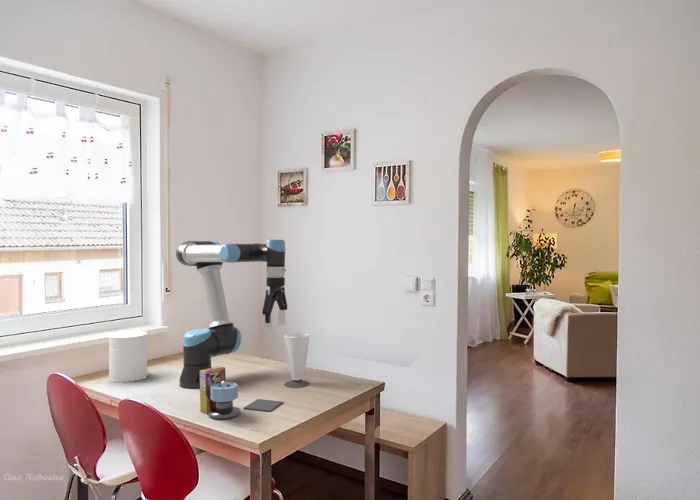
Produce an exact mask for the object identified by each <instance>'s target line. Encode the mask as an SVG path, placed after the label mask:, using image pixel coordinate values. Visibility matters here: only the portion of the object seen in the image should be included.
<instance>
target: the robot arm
mask: <svg viewBox="0 0 700 500" xmlns="http://www.w3.org/2000/svg"><path fill="white" fill-rule="evenodd" d="M175 257H176V260H177V261H178V262H179V263H180V264H181V265H183V266H187V267H196V272H198V273H199V274H200V275H201V279H202V280H201V281H202V284H203V290H204V291H203V292H204V295H205V302H206V308H207V312H208V319H209V325H208V327H207V328H206V327H204V328H203V327H202V328H196V329H192V330H189V331H187V332H185V334H184V335H183V339H182V340H183V342H182V346H183V347H182V348H183V350H182V352H183V368H182V370H181V373H180V376H179V380H178V382H179V386H180V387H182V388H186V389H200V371H201V370H205V369H209V368H213V367H212V358H215V357H218V356H224V355H230V354H232V353H235V352H237V351H238V350H239V349H240V346H241V343H242V333H241V331H240V329H239V328H238V327H236V326H234V325H235V324H234V322H233V321H231V320H230V317H229V311H228V308H227V302H226V297H225V291H224V285H223V281H222V275H221V269H222V268H223V264H224V263H232V264H234V263H248V262H249V263H250V262H252V263H254V262H262V263H263V262H266V273H265V274H266V275H265V276H266V282H265V283H266V286H267V287H269V289H266V290H265V297H264V300H263V301H264V302H263V307H262V312H261V313H262V315H264V331H265V332H272V330H273V315H272V312H273V308H274V305H275V302H276V304H277V306H278V311H277V312H278V315H277V316H278V317H277V318H278V322H277V323H278V324H277V325H278V326H285V325H286V311H287V310H288V302H287V297H286V292H285V285H286V284H285V283H286V278H285V275H286V274H285V273H286V267H285V266H286V241H285V240H284V239H271V238H270V239H267V241H266V243H220V242H218V241H212V240H188V241H184V242H182V243H181V244H179V245H178V246H177V248H176V250H175Z"/></svg>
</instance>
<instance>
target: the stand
mask: <svg viewBox="0 0 700 500" xmlns="http://www.w3.org/2000/svg"><path fill="white" fill-rule="evenodd" d="M227 382H228V381H227V380H226V381H221V387H227ZM240 414H241V409H240V408H239V407H236V406H234V400H233V401H227V402H216V408H214V409H211V410H210V411H209V413H208V418H209V419H212V420H215V421H225V420H231V419H235V418H237V417H238V416H240Z"/></svg>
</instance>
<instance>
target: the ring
mask: <svg viewBox="0 0 700 500" xmlns="http://www.w3.org/2000/svg"><path fill="white" fill-rule="evenodd" d="M210 389H211V400H212V401H215V402H227V401H233V402H234V401H235V400H236V399H238V398H239V385H238V383H236V382H231V381H227V387H221V383H215V384H213V385H211V386H210Z"/></svg>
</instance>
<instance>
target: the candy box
mask: <svg viewBox="0 0 700 500" xmlns="http://www.w3.org/2000/svg"><path fill="white" fill-rule="evenodd" d="M221 381H227V380H226V367H225V366H221V365H219V366H213V367H212V368H209V369H205V370H201V371H200V388H199V400H200V402H199V403H200V404H199V405H200V407H199V408H200V409H199V410H200V412H202V413H203V414H209V411H210V410H211V409H214V408H216V402H215V401H212V400H211V389H210V386H211V385H213V384H215V383H221Z"/></svg>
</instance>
